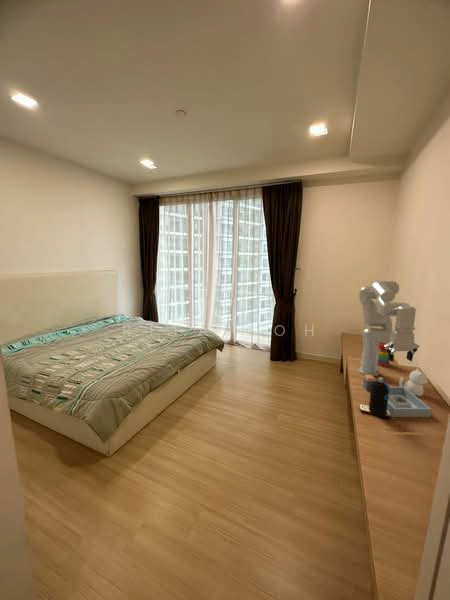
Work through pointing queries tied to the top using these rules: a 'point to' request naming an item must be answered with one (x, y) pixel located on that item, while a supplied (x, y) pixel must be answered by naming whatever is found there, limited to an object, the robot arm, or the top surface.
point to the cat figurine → (415, 382)
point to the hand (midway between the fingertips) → (399, 360)
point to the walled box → (417, 405)
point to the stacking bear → (383, 355)
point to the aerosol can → (379, 397)
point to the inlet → (404, 401)
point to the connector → (368, 382)
